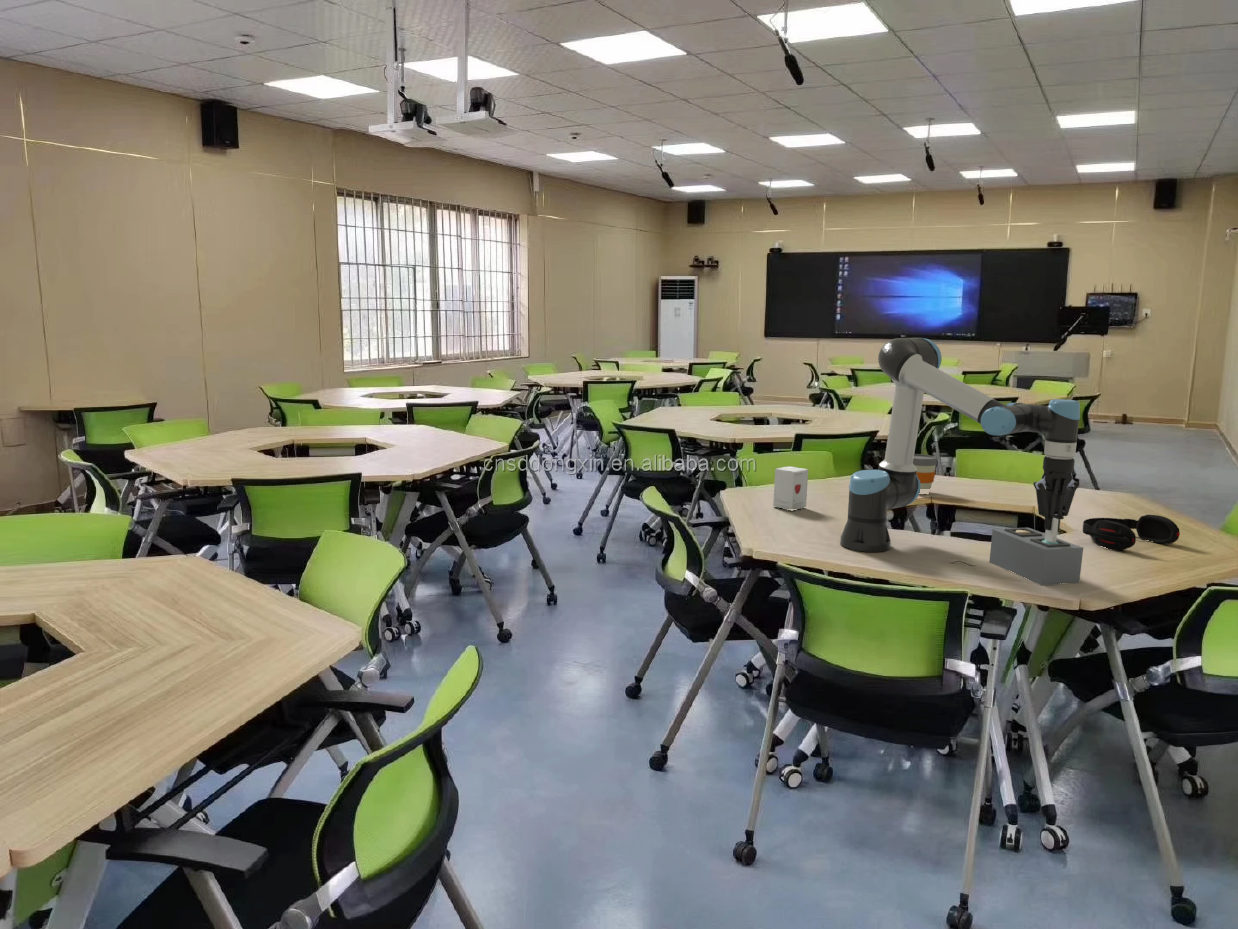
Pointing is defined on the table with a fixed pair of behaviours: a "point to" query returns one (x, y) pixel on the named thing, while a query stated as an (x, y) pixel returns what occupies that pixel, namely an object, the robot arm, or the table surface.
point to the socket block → (1036, 556)
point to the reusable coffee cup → (925, 469)
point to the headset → (1130, 531)
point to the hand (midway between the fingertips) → (1050, 541)
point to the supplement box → (790, 487)
